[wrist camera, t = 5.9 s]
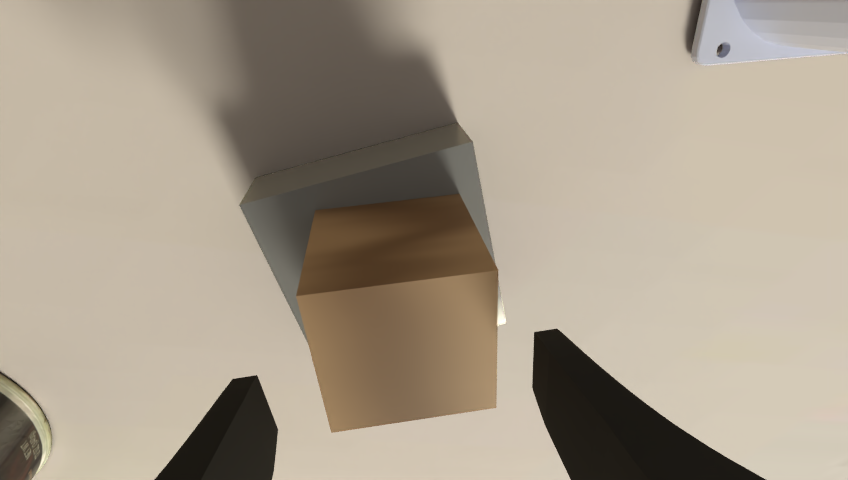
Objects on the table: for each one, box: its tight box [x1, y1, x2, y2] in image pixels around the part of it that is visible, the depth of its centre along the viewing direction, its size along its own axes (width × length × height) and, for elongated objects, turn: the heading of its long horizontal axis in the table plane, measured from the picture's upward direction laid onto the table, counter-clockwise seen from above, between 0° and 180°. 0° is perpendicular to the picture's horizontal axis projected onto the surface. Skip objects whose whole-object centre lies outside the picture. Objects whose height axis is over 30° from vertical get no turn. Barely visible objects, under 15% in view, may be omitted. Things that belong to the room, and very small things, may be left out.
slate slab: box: [240, 123, 506, 342], centre depth 18 cm, size 8×8×3 cm
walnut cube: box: [296, 194, 498, 433], centre depth 14 cm, size 5×5×5 cm
